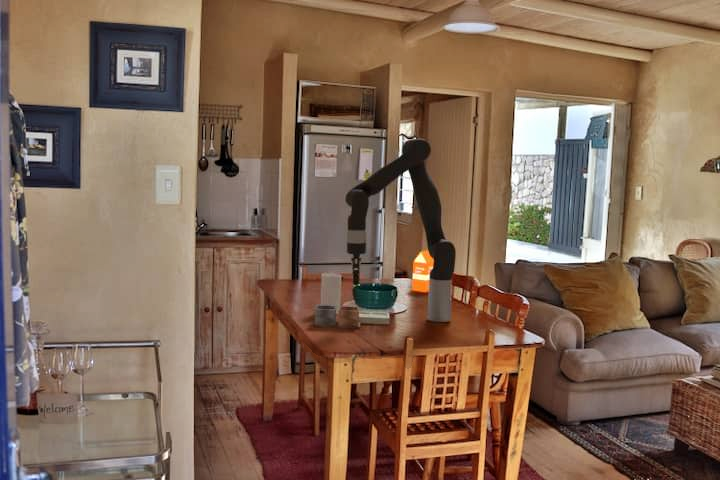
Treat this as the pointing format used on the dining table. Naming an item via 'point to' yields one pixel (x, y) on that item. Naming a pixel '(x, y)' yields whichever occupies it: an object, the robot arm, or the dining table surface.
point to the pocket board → (374, 318)
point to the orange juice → (422, 271)
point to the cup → (331, 290)
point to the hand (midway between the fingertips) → (356, 282)
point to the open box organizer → (346, 319)
